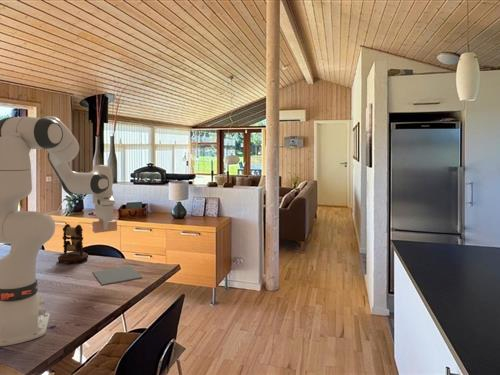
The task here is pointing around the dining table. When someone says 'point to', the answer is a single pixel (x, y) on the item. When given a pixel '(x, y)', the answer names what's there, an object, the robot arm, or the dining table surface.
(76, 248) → the dark brown ornate stand
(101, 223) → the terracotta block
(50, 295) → the dining table surface
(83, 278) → the dining table surface
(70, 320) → the dining table surface
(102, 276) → the flat slab
